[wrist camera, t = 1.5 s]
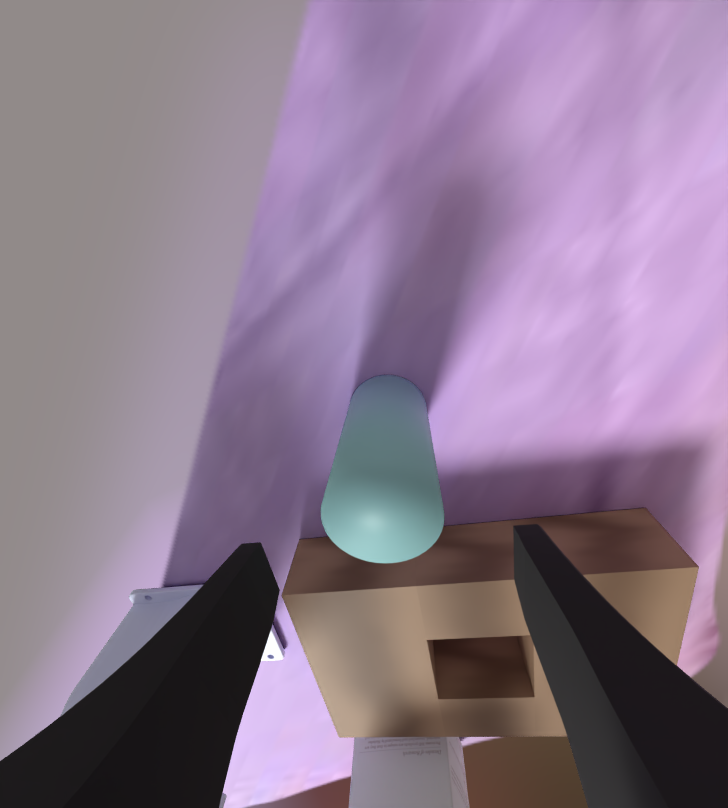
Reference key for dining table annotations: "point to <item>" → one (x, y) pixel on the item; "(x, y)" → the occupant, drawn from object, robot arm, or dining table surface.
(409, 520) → the peg
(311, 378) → the dining table surface
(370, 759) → the supplement box
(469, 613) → the socket block
